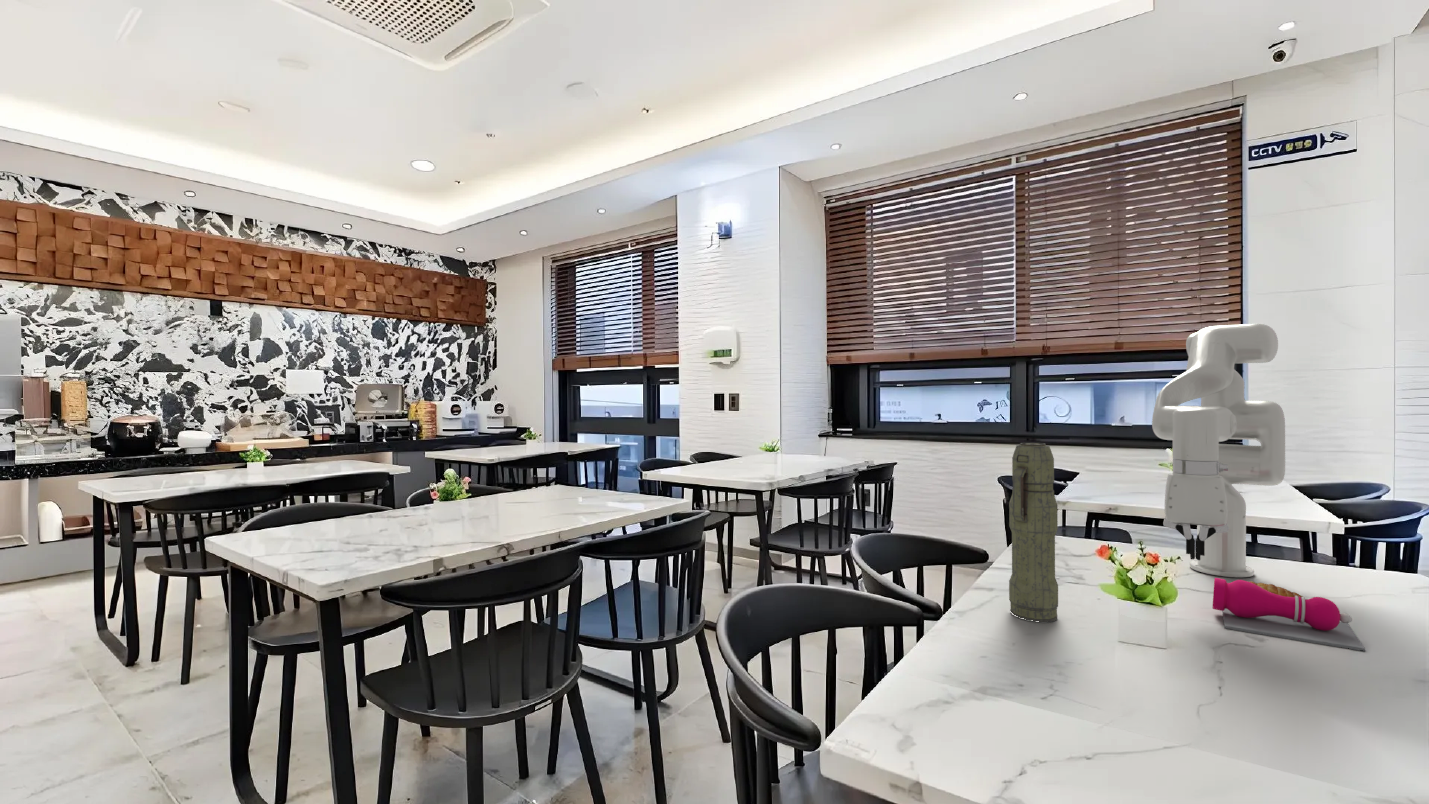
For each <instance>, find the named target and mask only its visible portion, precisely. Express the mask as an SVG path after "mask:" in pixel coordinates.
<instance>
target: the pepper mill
mask: <svg viewBox="0 0 1429 804" xmlns="http://www.w3.org/2000/svg"><path fill="white" fill-rule="evenodd" d="M1213 581H1214V582H1213V595H1212V597H1213V598H1212V610H1215V611H1221V612H1222V611H1224V609H1228V610H1229V611H1231V612H1232V613H1233V614H1234V615H1236V616H1238V617H1244V618H1254V617H1261V616H1280V617H1285V618H1289V619H1292V620H1293V621H1294V622H1300V623H1301V624H1303V623H1304V622H1306V623H1307V624H1309V625H1310V626H1311V627H1313V628H1315V629H1317V630H1323V631H1328V630H1332V629H1334V628H1336V627H1337V626H1338V624H1339V622H1343V623H1348V624H1351V623H1352V622H1353V618H1352V616H1351V614H1348V613H1345V612H1344V613H1341V612H1340V611H1341V610H1340V609H1339V607H1338V605H1337V604H1336V603H1335V602H1333V601H1332V600H1330V599H1328V598H1325V597H1321V596H1314V597H1311V598H1308V599H1306V598H1305V597H1304V596H1303V597H1298V596H1295V597H1285V596H1281V595H1277V594H1274V593H1271V592H1269V591H1267V590H1265V589H1263V588H1261V587H1259V586H1257V585H1255V584H1253V583H1251V582H1250V581H1247V580H1244V579H1236V580H1234V581H1232V582H1227V580H1226V579H1224V578H1219V577H1214V580H1213Z"/></svg>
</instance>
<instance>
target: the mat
mask: <svg viewBox="0 0 1429 804" xmlns="http://www.w3.org/2000/svg"><path fill="white" fill-rule="evenodd" d="M1221 613H1222V619H1223V624H1224V625H1223V626H1224V629H1226V630H1233V631H1238V632H1246V633H1251V634H1258V635H1264V636H1270V637H1275V638H1283V639H1289V640H1293V641H1294V640H1295V641H1300V642H1305V643H1312V644H1318V645H1324V646H1329V647H1337V648H1341V647H1342V649H1348V648H1349V650H1354V651H1360V650H1363V651H1362V652H1366V648H1365V646H1364V644H1363V643H1362V641H1361V640H1360V638H1359V637H1358V636H1357V635H1356V633H1355V631H1354V630H1353V628H1352V627H1351V626H1350V623H1343V622H1341V621H1340V622H1339V624H1338V626H1337V627H1336V628H1334V629H1332V630H1328V631H1323V630H1317V629H1315V628H1313V627H1311V626H1310V625H1309V624H1307V623H1306V622H1304V623H1303V624H1301V623H1300V622H1294V621H1293V620H1292V619H1289V618H1285V617H1280V616H1261V617H1254V618H1244V617H1238V616H1236V615H1234V614H1233V613H1232V612H1231V611H1229V610H1228V609H1224V611H1221Z"/></svg>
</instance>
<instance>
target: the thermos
mask: <svg viewBox="0 0 1429 804" xmlns="http://www.w3.org/2000/svg"><path fill="white" fill-rule="evenodd" d="M1011 461H1012V463H1011V465H1012V467H1011V469H1012V470H1011V473H1012V476H1011V477H1012V478H1011V479H1012V493H1011V497H1010V500H1009V502H1008V509H1009V512H1008V513H1009V514H1008V516H1009V518H1008V519H1009V522H1008V526H1009V529H1010V531H1011V576H1010V578H1009V579H1008V585H1009V586H1008V588H1009V589H1008V592H1009V593H1008V599H1009V602H1010V608H1009V612H1010V611H1011V612H1012V613H1013V614H1014V615H1016V616H1018V617H1020V618H1024V619H1026V620H1033V621H1039V622H1038V623H1040V622H1047V623H1053V622H1056V621H1057V620H1058V607H1059V584H1058V581H1057V579H1056V535H1057V532H1058V528H1059V527H1058V525H1059V524H1058V523H1059V522H1058V518H1059V517H1058V515H1059V514H1058V510H1059V509H1058V502H1057V499H1056V497H1055V489H1054V483H1055V458H1054V454H1053V453H1052V449H1051V447H1050V445H1046V443H1044V442H1020V443H1019V444H1016V446H1015V449H1014V452H1013V454H1012V459H1011ZM1026 620H1025V621H1026ZM1055 620H1056V621H1055ZM1052 621H1053V622H1052Z"/></svg>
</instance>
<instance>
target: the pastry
mask: <svg viewBox="0 0 1429 804" xmlns="http://www.w3.org/2000/svg"><path fill="white" fill-rule="evenodd" d="M1249 582H1251V583H1253V584H1255V585H1257V586H1259V587H1261V588H1263V589H1265V590H1267V591H1269V592H1271V593H1274V594H1277V595H1281V596H1285V597H1295V596H1298V597H1304V596H1303V595H1300V594H1299V593H1297V592H1295V591H1291V590H1289V589H1287V588H1285V587H1281V586H1276V585H1275V584H1273V583H1269V584H1267V583H1265V582H1264V583H1263V582H1258V583H1257V582H1255V581H1250V580H1249Z"/></svg>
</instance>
